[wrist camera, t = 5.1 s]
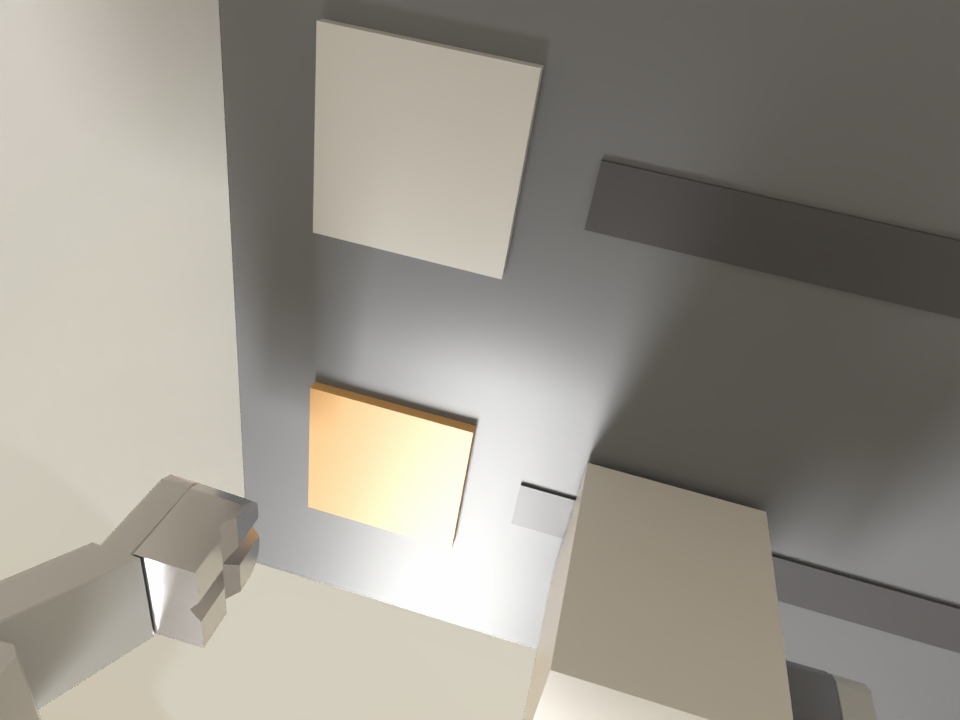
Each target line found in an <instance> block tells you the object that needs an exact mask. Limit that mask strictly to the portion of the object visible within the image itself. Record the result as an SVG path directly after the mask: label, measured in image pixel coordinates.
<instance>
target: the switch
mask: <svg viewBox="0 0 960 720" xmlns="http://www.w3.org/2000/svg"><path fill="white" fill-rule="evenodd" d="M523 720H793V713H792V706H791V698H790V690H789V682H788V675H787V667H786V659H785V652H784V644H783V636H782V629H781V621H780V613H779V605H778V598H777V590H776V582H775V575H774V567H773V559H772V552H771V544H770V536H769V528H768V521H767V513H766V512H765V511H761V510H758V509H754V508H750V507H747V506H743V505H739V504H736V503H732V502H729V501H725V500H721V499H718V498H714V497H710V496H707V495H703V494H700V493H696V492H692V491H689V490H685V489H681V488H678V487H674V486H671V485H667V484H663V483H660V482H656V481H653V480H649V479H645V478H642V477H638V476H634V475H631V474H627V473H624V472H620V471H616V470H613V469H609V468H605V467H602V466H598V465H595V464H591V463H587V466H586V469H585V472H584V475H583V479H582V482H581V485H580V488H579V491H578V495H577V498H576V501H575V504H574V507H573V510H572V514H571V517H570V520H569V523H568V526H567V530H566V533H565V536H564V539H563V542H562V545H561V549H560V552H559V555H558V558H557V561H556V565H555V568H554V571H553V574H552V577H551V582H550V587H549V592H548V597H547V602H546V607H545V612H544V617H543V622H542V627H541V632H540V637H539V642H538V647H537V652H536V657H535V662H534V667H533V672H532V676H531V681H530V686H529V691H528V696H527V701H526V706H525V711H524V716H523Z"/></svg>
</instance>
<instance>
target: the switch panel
mask: <svg viewBox="0 0 960 720" xmlns="http://www.w3.org/2000/svg"><path fill="white" fill-rule="evenodd" d="M219 15H220V34H221V53H222V72H223V91H224V110H225V129H226V148H227V167H228V186H229V205H230V224H231V243H232V262H233V280H234V299H235V318H236V337H237V356H238V375H239V394H240V413H241V432H242V451H243V470H244V489H245V499H248V500H251V501H254V502H256V503H257V504H258V516H259V517H258V519H257V520H256V522H255V523H254V525H253V526H252V527H253V528H254V529H255V531H256V532H257V534H258V535H259V545H260V546H259V552H258V557H257V561H256V563H259V564H262V565H266V566H269V567H272V568H275V569H278V570H282V571H285V572H288V573H291V574H295V575H298V576H301V577H304V578H307V579H311V580H314V581H317V582H320V583H324V584H327V585H330V586H333V587H337V588H340V589H343V590H346V591H349V592H353V593H356V594H359V595H362V596H366V597H369V598H372V599H375V600H378V601H382V602H385V603H388V604H391V605H395V606H398V607H401V608H404V609H408V610H411V611H414V612H417V613H420V614H424V615H427V616H430V617H433V618H437V619H440V620H443V621H446V622H449V623H453V624H456V625H459V626H462V627H466V628H469V629H472V630H475V631H479V632H482V633H485V634H488V635H491V636H495V637H498V638H501V639H504V640H508V641H511V642H514V643H517V644H520V645H524V646H527V647H530V648H533V649H537V647H538V642H539V637H540V632H541V627H542V622H543V617H544V612H545V607H546V602H547V597H548V592H549V587H550V582H551V577H552V574H553V571H554V568H555V565H556V561H557V558H558V555H559V552H560V549H561V545H562V542H563V539H564V536H565V533H566V530H567V526H568V523H569V520H570V517H571V514H572V510H573V507H574V504H575V501H576V498H577V495H578V491H579V488H580V485H581V482H582V479H583V475H584V472H585V469H586V466H587V463H591V464H595V465H598V466H602V467H605V468H609V469H613V470H616V471H620V472H624V473H627V474H631V475H634V476H638V477H642V478H645V479H649V480H653V481H656V482H660V483H663V484H667V485H671V486H674V487H678V488H681V489H685V490H689V491H692V492H696V493H700V494H703V495H707V496H710V497H714V498H718V499H721V500H725V501H729V502H732V503H736V504H739V505H743V506H747V507H750V508H754V509H758V510H761V511H765V512H766V513H767V521H768V528H769V536H770V544H771V552H772V559H773V567H774V575H775V582H776V590H777V598H778V605H779V613H780V621H781V629H782V636H783V644H784V652H785V659H786V660H788V661H792V662H795V663H799V664H802V665H806V666H809V667H813V668H816V669H819V670H823V671H826V672H827V673H830V674H834V675H837V676H841V677H844V678H847V679H851V680H854V681H857V682H861V683H864V684H866V685H867V687H868V688H869V690H870V691H871V694H872V699H873V703H874V707H875V711H876V715H877V719H878V720H960V0H219Z"/></svg>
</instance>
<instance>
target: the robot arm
mask: <svg viewBox="0 0 960 720" xmlns="http://www.w3.org/2000/svg"><path fill="white" fill-rule="evenodd" d="M258 517H259V516H258V504H257V503H256V502H254V501H251V500H248V499H245V498H242V497H239V496H236V495H233V494H230V493H227V492H224V491H221V490H218V489H214V488H211V487H208V486H205V485H202V484H199V483H196V482H193V481H190V480H186V479H183V478H180V477H177V476H174V475H169V476H167V477H165V478H163V479H162V480H160V481H159V482H158V483H157V484H156V485H155V487H154V488H153V489H152V490H151V491H150V492H149V493H148V494H147V495H146V496H145V497H144V498H143V500H142V501H141V502H140V503H139V504H138V505H137V506H136V507H135V508H134V509H133V510H132V511H131V513H130V514H129V515H128V516H127V517H126V518H125V519H124V520H123V521H122V522H121V523H120V524H119V525H118V527H117V528H116V529H115V530H114V531H113V532H112V533H111V534H110V535H109V536H108V537H107V538H106V540H105V541H104V542H103V543H102V544H101V545H99V544H95V543H90V544H88V545H85V546H83V547H80V548H78V549H76V550H73V551H71V552H68V553H66V554H64V555H61V556H59V557H57V558H54V559H52V560H49V561H47V562H44V563H42V564H40V565H37V566H35V567H32V568H30V569H28V570H25V571H23V572H20V573H18V574H16V575H13V576H11V577H8V578H6V579H4V580H1V581H0V720H42V719H41V716H40V714H39V711H38V709H40V708H41V707H43V706H44V705H46V704H48V703H49V702H51V701H52V700H54V699H55V698H57V697H59V696H60V695H62V694H63V693H65V692H66V691H68V690H70V689H71V688H73V687H74V686H76V685H78V684H79V683H81V682H82V681H84V680H85V679H87V678H89V677H90V676H92V675H93V674H95V673H97V672H98V671H99V670H101V669H103V668H104V667H106V666H108V665H109V664H111V663H112V662H114V661H115V660H117V659H119V658H120V657H122V656H123V655H125V654H127V653H128V652H130V651H131V650H133V649H134V648H136V647H138V646H139V645H141V644H142V643H144V642H146V641H147V640H149V639H150V638H152V637H153V636H154V633H156V634H159V635H163V636H166V637H169V638H173V639H176V640H179V641H183V642H186V643H189V644H193V645H196V646H200V647H203V648H204V647H205V645H206V644H207V642H208V641H209V639H210V638H211V636H212V635H213V633H214V631H215V630H216V628H217V627H218V625H219V624H220V622H221V621H222V619H223V618H224V616H225V615H226V598H228V597H230V596H232V595H234V594H236V593H238V592H240V591H241V590H242V589H243V587H244V585H245V584H246V582H247V581H248V579H249V577H250V575H251V573H252V571H253V568H254V566H255V563H256V561H257V557H258V552H259V546H260V545H259V535H258V534H257V532H256V531H255V529H254V528H253V527H252V526H253V525H254V523H255V522H256V520H257V519H258ZM786 667H787V675H788V682H789V690H790V698H791V706H792V713H793V720H878V719H877V715H876V711H875V707H874V703H873V699H872V694H871V691H870V690H869V688H868V687H867V685H866V684H864V683H861V682H857V681H854V680H851V679H847V678H844V677H841V676H837V675H834V674H830V673H827V672H826V671H823V670H819V669H816V668H813V667H809V666H806V665H802V664H799V663H795V662H792V661H788V660H786Z"/></svg>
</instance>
